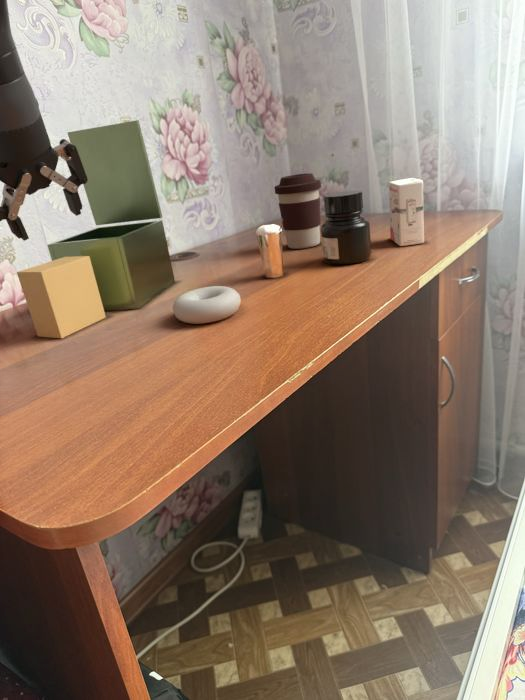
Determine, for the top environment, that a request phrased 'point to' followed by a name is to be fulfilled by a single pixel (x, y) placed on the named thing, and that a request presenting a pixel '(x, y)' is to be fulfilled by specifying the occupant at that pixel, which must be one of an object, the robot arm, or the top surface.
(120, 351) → the top surface
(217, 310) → the donut
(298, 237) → the coffee cup
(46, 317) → the tan block
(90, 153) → the bin lid
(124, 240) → the bin
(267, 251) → the milkshake
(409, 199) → the ink box
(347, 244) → the ink bottle
